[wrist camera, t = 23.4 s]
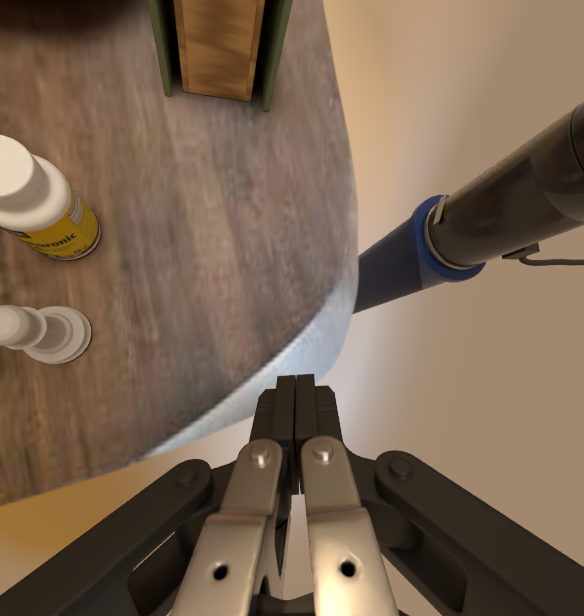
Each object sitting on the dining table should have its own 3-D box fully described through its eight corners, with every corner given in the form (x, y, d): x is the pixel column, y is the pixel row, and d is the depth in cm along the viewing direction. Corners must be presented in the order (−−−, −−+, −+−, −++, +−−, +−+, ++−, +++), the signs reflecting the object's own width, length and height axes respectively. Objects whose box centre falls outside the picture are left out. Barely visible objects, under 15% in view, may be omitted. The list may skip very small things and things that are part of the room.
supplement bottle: (27, 260, 26) (-78, 202, 16) (35, 200, 27) (-61, 113, 17) (100, 263, 27) (41, 211, 18) (105, 206, 28) (51, 128, 19)
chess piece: (99, 312, 26) (53, 292, 19) (83, 368, 25) (27, 370, 18) (37, 302, 25) (-39, 275, 18) (18, 359, 24) (-71, 357, 17)
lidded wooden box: (248, 47, 35) (264, -89, 24) (251, 102, 34) (268, -16, 23) (182, 34, 33) (168, -119, 22) (182, 92, 32) (167, -42, 21)
